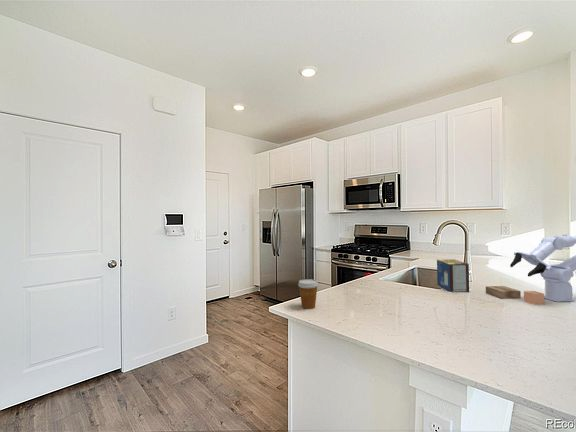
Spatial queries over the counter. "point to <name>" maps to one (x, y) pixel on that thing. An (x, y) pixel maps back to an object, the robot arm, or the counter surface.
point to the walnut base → (503, 292)
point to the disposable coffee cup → (308, 293)
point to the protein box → (453, 275)
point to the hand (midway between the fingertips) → (519, 270)
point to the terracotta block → (534, 297)
